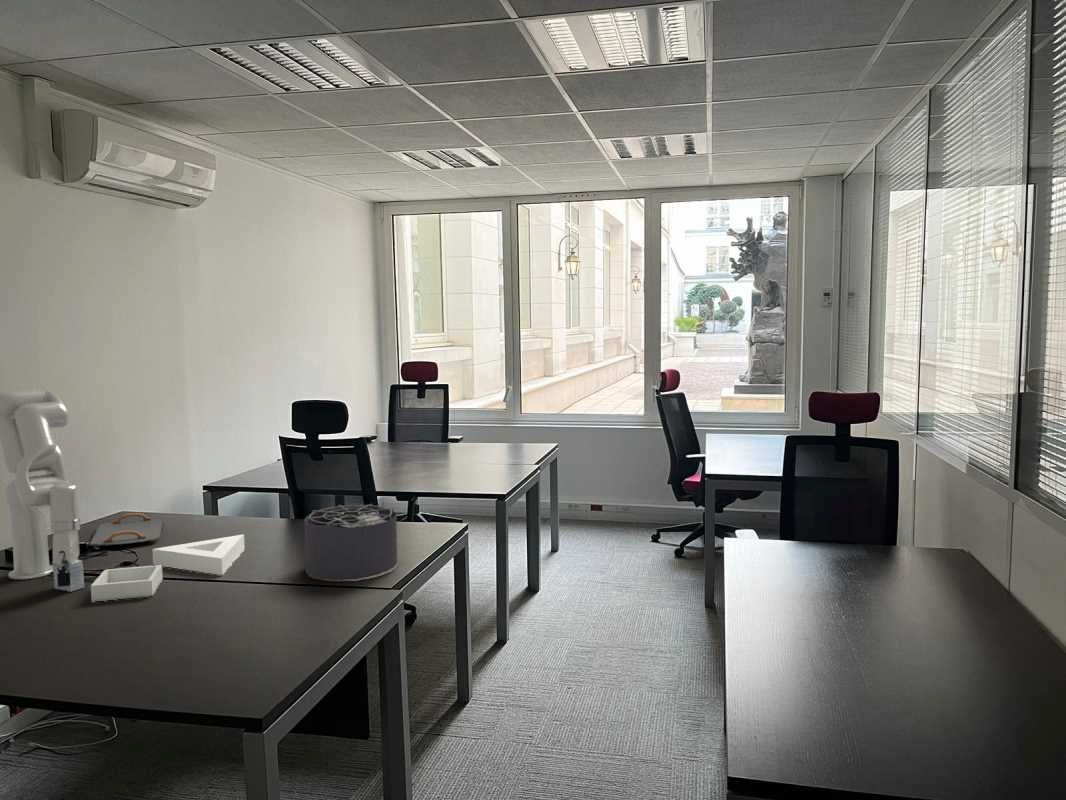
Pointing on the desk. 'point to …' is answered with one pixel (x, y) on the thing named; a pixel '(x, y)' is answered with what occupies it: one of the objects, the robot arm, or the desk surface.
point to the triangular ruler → (201, 555)
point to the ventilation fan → (350, 542)
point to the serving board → (128, 531)
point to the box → (126, 583)
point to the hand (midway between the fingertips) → (68, 581)
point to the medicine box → (71, 576)
